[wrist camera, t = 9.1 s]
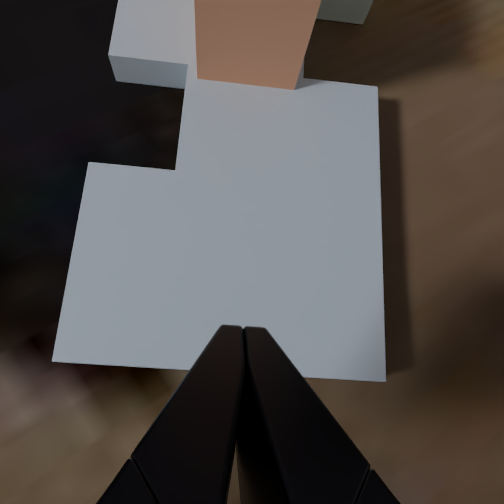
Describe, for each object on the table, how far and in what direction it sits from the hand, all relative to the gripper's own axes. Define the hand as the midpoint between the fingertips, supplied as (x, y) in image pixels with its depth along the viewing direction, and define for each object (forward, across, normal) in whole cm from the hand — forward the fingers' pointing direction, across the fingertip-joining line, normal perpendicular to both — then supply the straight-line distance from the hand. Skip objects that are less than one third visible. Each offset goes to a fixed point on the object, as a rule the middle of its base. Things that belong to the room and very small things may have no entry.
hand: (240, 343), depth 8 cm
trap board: (+19, 0, -2) cm, 19 cm away
